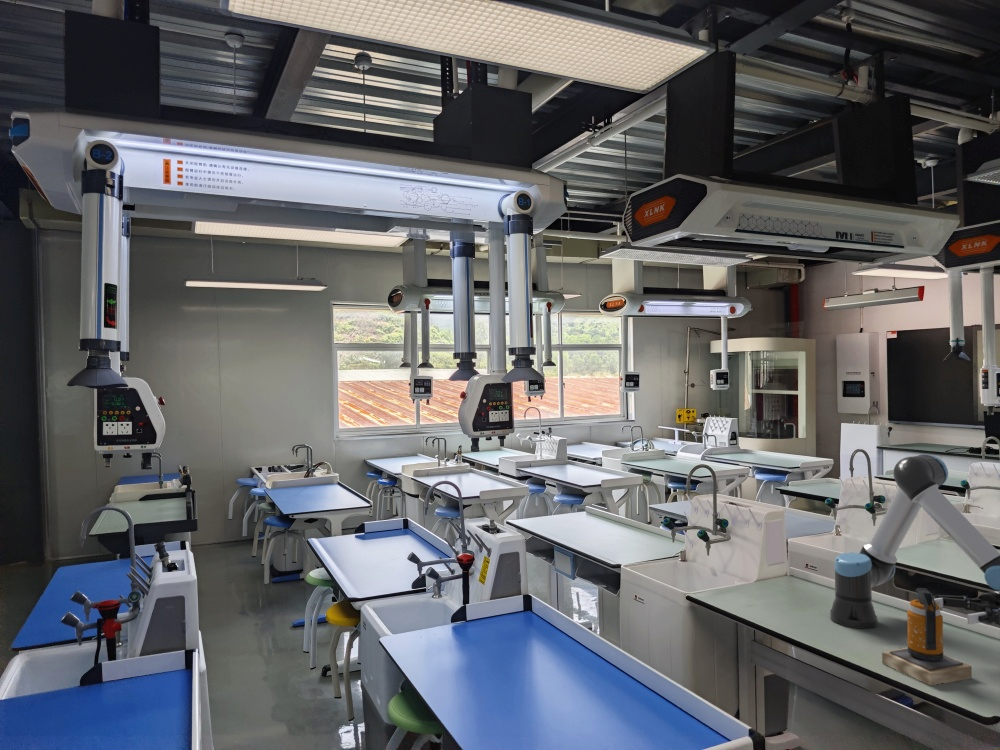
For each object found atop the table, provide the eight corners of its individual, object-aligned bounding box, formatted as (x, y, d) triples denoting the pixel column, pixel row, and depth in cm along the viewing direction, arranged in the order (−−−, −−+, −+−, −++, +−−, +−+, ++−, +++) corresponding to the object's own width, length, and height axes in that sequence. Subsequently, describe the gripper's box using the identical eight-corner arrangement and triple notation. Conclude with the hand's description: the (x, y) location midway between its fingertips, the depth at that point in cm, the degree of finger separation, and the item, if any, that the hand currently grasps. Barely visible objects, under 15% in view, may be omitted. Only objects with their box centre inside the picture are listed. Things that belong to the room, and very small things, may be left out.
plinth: (882, 663, 203) (882, 650, 203) (921, 656, 208) (921, 643, 208) (930, 686, 188) (930, 671, 188) (971, 678, 193) (971, 664, 193)
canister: (937, 652, 202) (936, 586, 202) (950, 667, 191) (949, 597, 191) (903, 648, 204) (903, 583, 205) (915, 663, 194) (914, 595, 194)
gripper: (1040, 630, 196) (988, 639, 189) (959, 603, 219) (910, 610, 213) (1040, 604, 196) (987, 612, 189) (959, 581, 219) (910, 587, 213)
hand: (946, 611), depth 201 cm, fingers open, 13 cm apart
